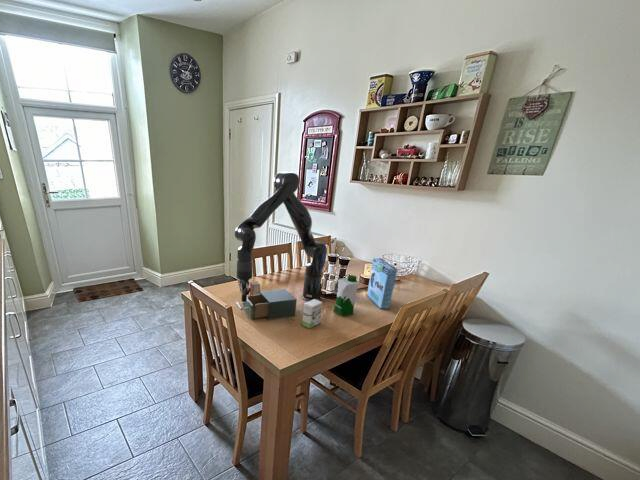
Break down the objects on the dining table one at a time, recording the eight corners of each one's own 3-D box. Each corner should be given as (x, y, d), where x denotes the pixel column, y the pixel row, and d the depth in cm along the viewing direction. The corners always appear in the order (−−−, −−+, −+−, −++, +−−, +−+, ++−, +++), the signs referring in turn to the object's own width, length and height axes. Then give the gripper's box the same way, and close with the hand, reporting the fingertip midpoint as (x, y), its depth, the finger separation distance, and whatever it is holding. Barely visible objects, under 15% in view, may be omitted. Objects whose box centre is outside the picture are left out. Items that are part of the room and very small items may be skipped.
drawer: (241, 320, 161) (242, 306, 157) (234, 309, 172) (234, 296, 169) (275, 316, 166) (276, 302, 162) (266, 305, 177) (267, 292, 174)
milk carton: (355, 314, 171) (362, 278, 163) (341, 317, 168) (347, 281, 160) (344, 307, 179) (350, 273, 170) (331, 310, 175) (336, 275, 167)
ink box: (309, 328, 157) (312, 306, 152) (301, 325, 160) (303, 303, 155) (320, 323, 162) (323, 301, 157) (311, 319, 165) (314, 298, 160)
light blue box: (388, 309, 178) (398, 269, 169) (379, 309, 178) (388, 269, 168) (374, 294, 196) (382, 258, 186) (366, 294, 196) (373, 257, 186)
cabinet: (268, 319, 164) (269, 302, 160) (258, 307, 177) (259, 291, 173) (295, 316, 168) (296, 299, 164) (283, 304, 181) (285, 288, 177)
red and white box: (256, 297, 189) (256, 281, 185) (259, 300, 185) (260, 284, 180) (249, 297, 188) (250, 281, 184) (252, 301, 184) (253, 285, 179)
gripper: (256, 272, 152) (255, 305, 159) (247, 263, 163) (246, 295, 171) (241, 273, 150) (240, 307, 157) (233, 264, 161) (233, 296, 169)
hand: (243, 301), depth 164 cm, fingers closed
